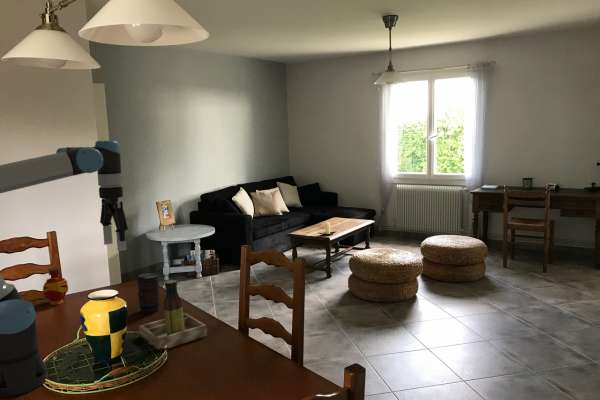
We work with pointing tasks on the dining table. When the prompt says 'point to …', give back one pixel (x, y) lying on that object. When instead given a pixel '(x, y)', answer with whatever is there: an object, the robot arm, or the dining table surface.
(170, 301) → the sauce bottle
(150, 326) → the box
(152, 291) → the camera lens
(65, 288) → the potion bottle
